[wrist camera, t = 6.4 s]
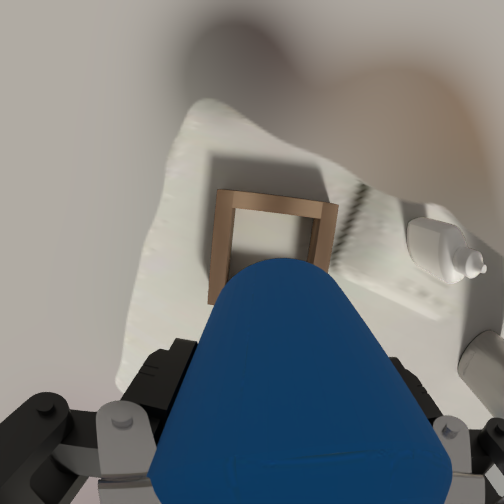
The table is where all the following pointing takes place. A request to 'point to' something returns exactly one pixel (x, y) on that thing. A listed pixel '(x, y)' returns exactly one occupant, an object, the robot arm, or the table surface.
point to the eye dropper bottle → (442, 250)
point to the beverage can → (294, 404)
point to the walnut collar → (270, 203)
